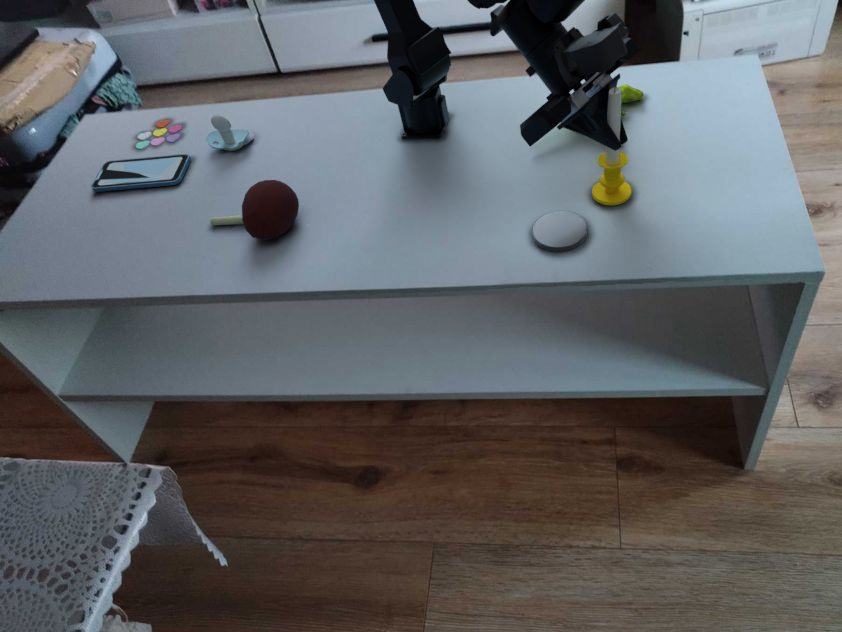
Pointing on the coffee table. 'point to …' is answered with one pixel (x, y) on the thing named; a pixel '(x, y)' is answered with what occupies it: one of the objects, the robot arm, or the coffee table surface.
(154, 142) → the candy hearts
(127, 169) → the smartphone
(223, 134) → the pacifier
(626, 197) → the candle
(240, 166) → the coffee table surface
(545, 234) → the coaster
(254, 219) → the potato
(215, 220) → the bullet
